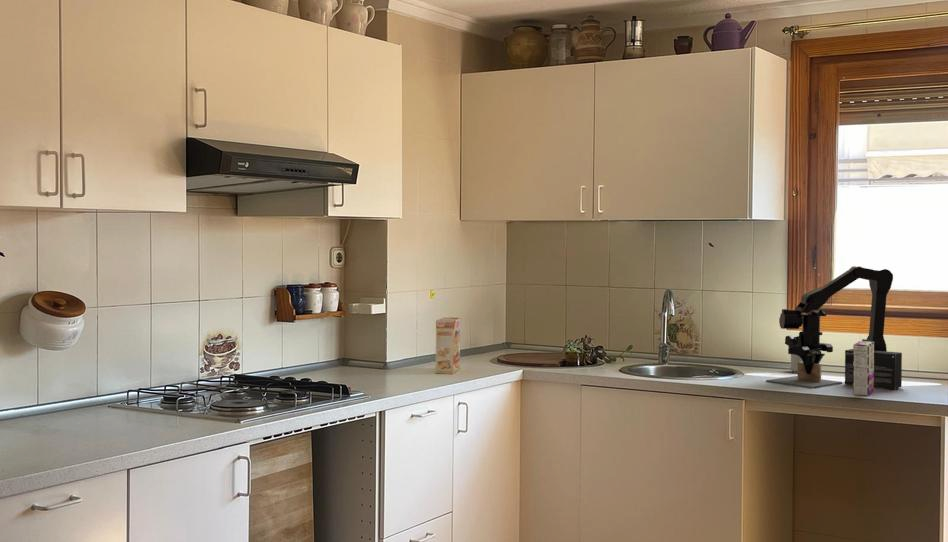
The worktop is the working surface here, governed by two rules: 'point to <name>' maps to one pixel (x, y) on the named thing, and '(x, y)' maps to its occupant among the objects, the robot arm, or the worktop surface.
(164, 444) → the worktop surface
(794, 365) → the can
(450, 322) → the coffeecake box
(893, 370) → the box
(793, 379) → the mat
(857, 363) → the candy bar box
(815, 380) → the tile
